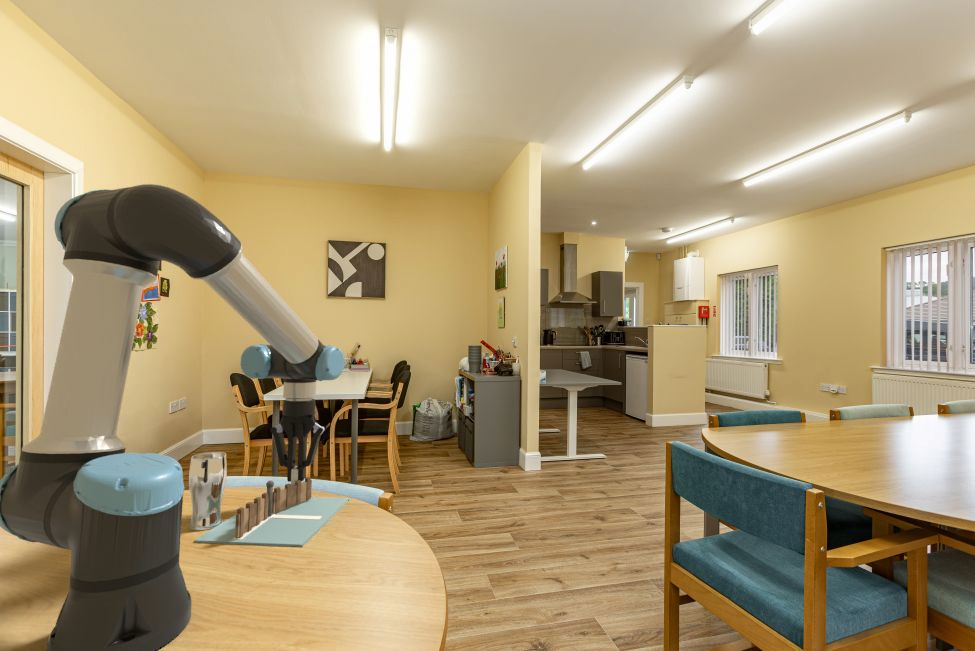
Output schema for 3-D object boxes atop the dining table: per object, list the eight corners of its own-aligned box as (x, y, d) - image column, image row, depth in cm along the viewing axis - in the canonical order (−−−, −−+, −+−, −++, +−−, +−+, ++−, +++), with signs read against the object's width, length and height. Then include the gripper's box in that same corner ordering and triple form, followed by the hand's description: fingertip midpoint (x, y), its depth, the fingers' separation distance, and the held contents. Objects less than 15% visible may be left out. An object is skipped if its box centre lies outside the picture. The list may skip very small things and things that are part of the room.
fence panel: (274, 513, 101) (274, 489, 101) (271, 512, 101) (272, 488, 101) (311, 498, 111) (312, 476, 111) (309, 497, 111) (309, 476, 111)
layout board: (302, 546, 86) (302, 544, 86) (194, 542, 87) (194, 539, 87) (349, 500, 112) (349, 498, 112) (265, 497, 113) (265, 495, 113)
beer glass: (211, 532, 92) (214, 460, 93) (178, 531, 92) (182, 459, 93) (231, 519, 99) (234, 451, 100) (200, 518, 99) (204, 451, 100)
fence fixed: (240, 541, 88) (242, 499, 88) (232, 541, 88) (234, 499, 88) (274, 516, 101) (275, 479, 101) (267, 516, 101) (268, 479, 101)
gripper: (330, 397, 114) (326, 489, 113) (279, 396, 113) (275, 489, 112) (320, 401, 107) (316, 500, 105) (266, 400, 106) (261, 499, 105)
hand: (295, 494), depth 109 cm, fingers closed
